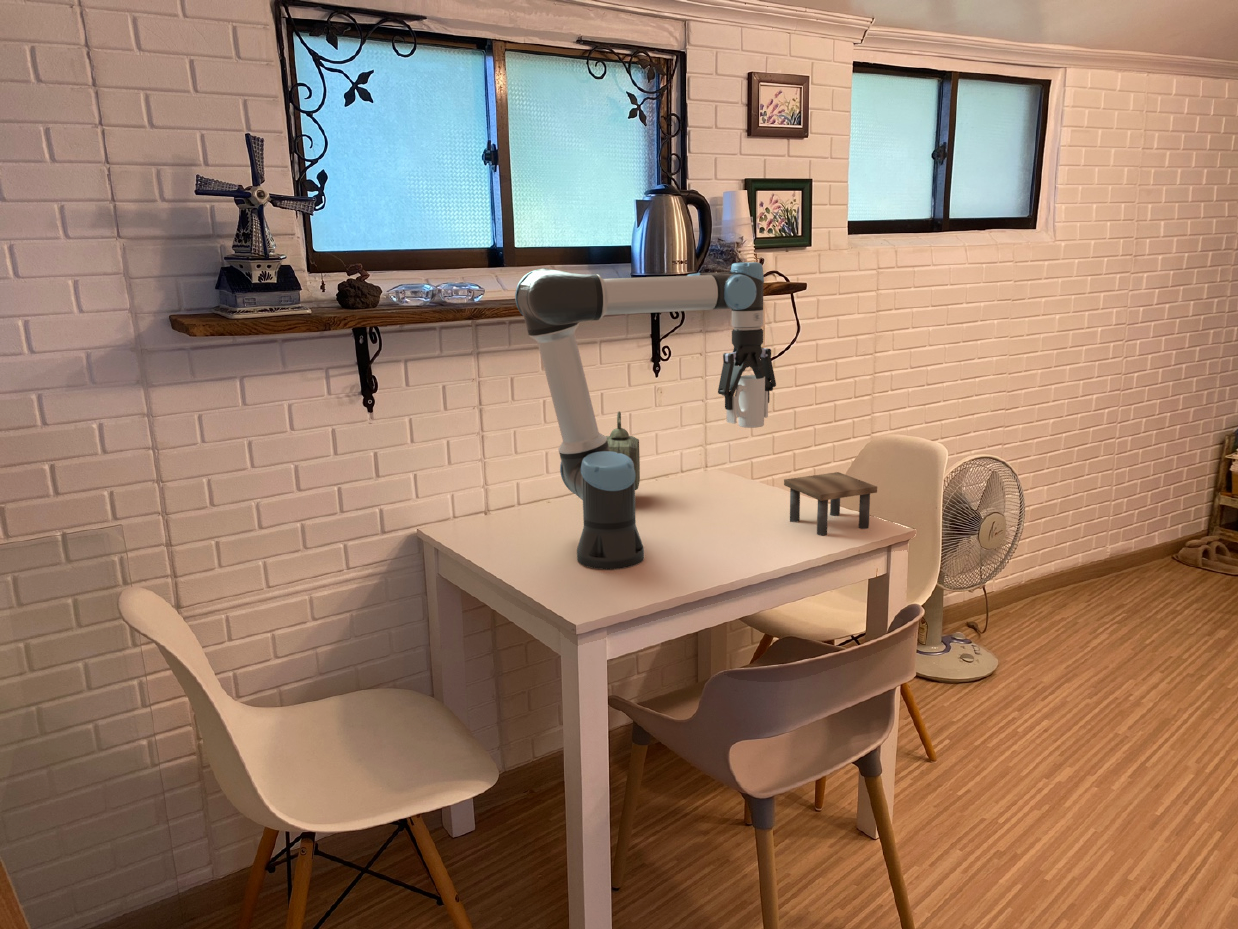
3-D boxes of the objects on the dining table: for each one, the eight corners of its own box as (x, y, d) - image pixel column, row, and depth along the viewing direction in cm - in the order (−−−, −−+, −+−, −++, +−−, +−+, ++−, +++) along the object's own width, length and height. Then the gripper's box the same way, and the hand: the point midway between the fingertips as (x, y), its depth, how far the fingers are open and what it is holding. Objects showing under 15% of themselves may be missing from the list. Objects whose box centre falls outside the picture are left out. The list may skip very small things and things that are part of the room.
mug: (747, 421, 232) (747, 374, 230) (770, 424, 228) (770, 376, 225) (724, 428, 225) (723, 379, 222) (746, 431, 221) (746, 381, 218)
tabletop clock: (608, 494, 260) (605, 407, 254) (640, 494, 259) (638, 406, 253) (603, 509, 246) (600, 417, 240) (637, 509, 245) (635, 416, 239)
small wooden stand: (819, 537, 218) (820, 494, 216) (783, 519, 233) (784, 479, 230) (875, 528, 224) (877, 486, 221) (836, 511, 238) (838, 472, 236)
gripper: (723, 333, 212) (723, 428, 217) (791, 325, 224) (790, 415, 230) (701, 331, 218) (702, 424, 223) (769, 323, 230) (769, 411, 235)
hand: (747, 419), depth 226 cm, fingers closed on mug, 10 cm apart
